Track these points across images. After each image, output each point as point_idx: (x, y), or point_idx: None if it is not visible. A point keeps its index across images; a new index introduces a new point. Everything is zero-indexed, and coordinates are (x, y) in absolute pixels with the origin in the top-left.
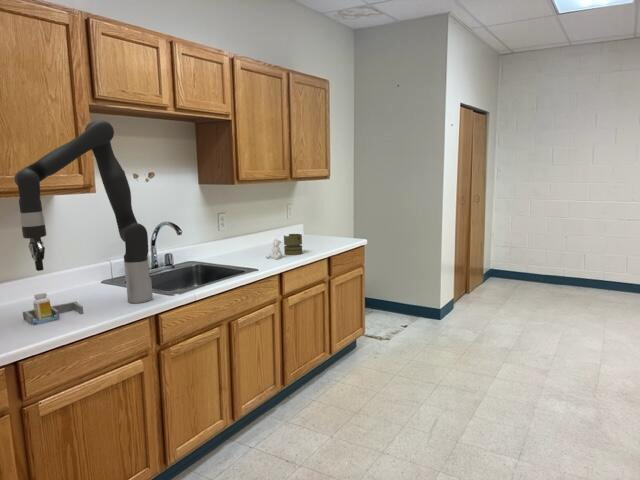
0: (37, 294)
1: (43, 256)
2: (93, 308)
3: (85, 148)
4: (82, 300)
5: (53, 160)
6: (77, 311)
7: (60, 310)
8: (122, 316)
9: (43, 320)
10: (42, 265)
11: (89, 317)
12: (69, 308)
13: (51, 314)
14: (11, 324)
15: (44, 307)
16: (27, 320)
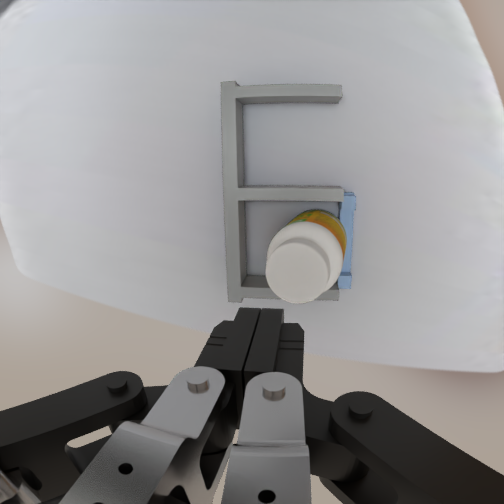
0: (312, 293)
1: (416, 430)
2: (281, 40)
3: None
4: (120, 57)
5: None
6: (292, 101)
7: (241, 156)
8: (471, 29)
9: None
10: (278, 335)
11: (409, 98)
12: (240, 119)
13: (333, 216)
14: None
15: (344, 253)
16: None
